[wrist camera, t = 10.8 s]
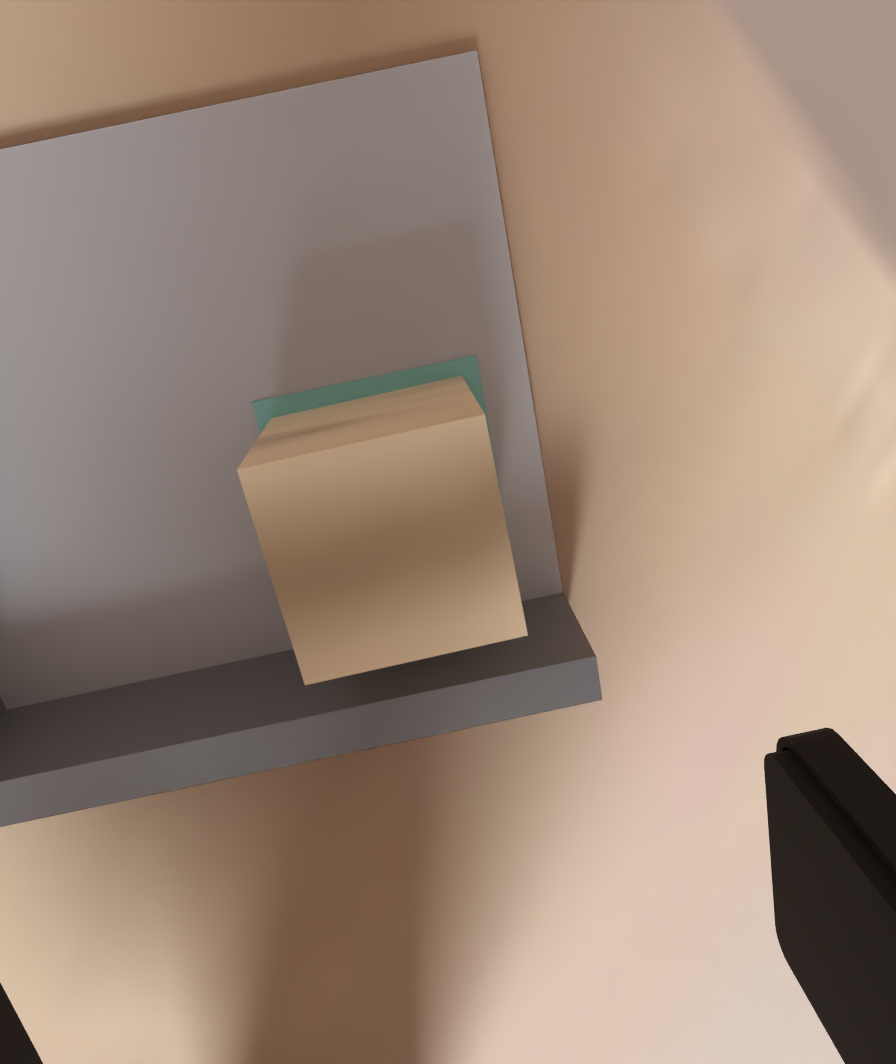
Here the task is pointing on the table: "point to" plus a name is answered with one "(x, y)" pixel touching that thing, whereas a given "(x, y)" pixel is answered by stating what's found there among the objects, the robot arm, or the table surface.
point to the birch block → (384, 529)
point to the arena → (241, 426)
